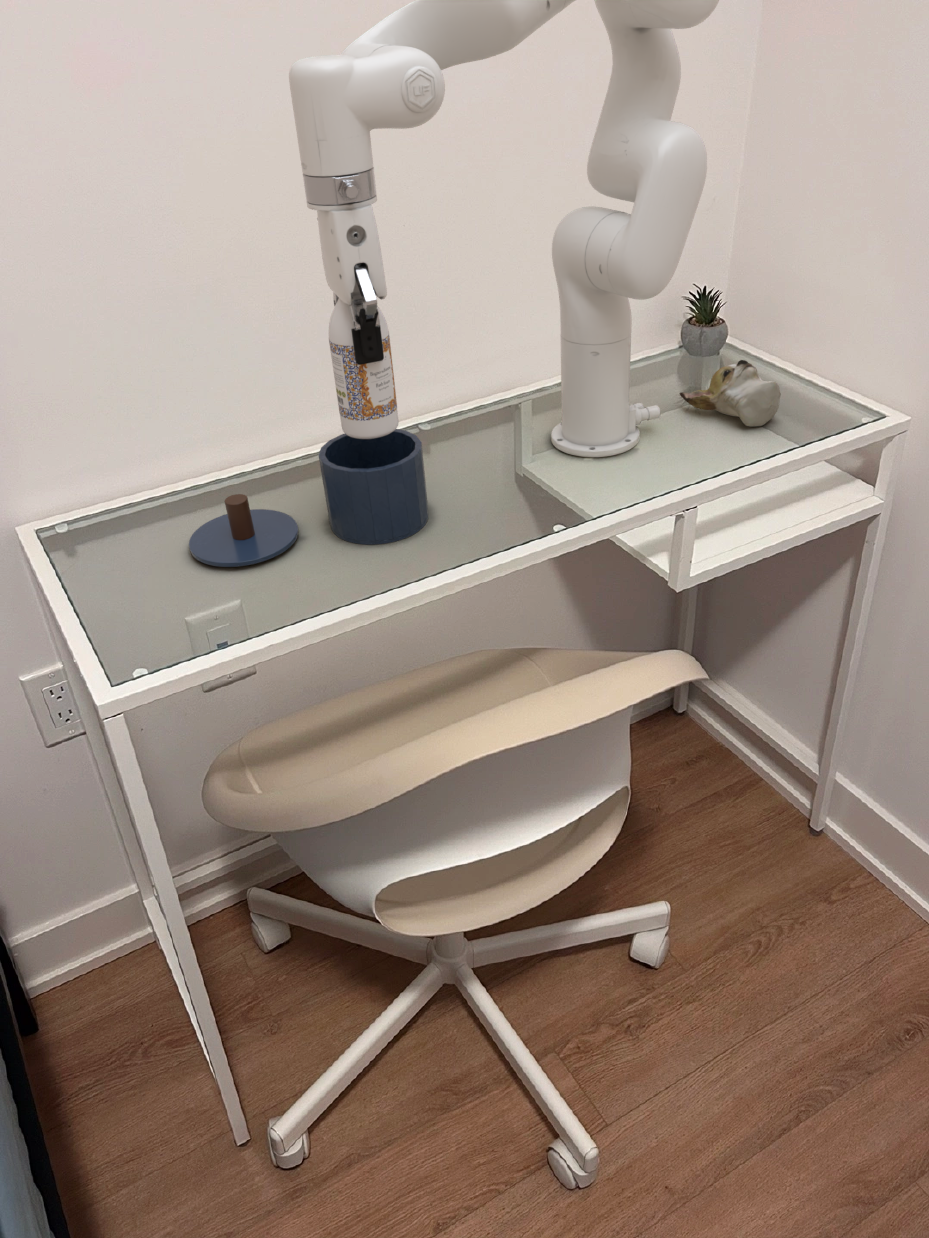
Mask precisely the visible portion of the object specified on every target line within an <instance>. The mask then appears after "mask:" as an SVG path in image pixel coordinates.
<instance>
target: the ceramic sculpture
mask: <svg viewBox="0 0 929 1238" xmlns="http://www.w3.org/2000/svg"><path fill="white" fill-rule="evenodd" d="M781 395H782V393H781V388H780V385H779V383H778V382H777V381H775V380H769V381H766V380H763V379H762V377H761V376H760V374H759V372H758V368H757V367H756V366H755V365H754V364H752V363H750V362H749V361H747V360H745V359H740V360H738V361H737V363H733V364H732V363H731V364H729V365H725V366H722V367H720V368H719V369H717V370H716V371H715V372H714V374H713V375H712V377H711V378H710V383H709V387H708V388H707V389H696V390H694V391H691V392H682V391H681V392H679V396H681V398H682V399H683V400H684V401H685V402H686V403H688V404H689V405H691V406H692V407H694V408H696V409H698V410H703V411H717V412H719V413H721V414H722V415H726V416H731V417H739V419H740V421H741V422H742V424H744V425H745V426H746V427H761V426H764V425H765V424H767V423H768V422H769V421H770V420H772V419H773V418H774V417H775V415H776V413H777V412H778V410H779V407H780V401H781Z"/></svg>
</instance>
